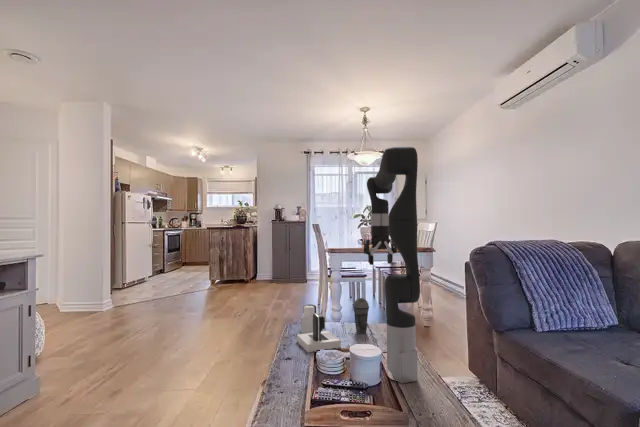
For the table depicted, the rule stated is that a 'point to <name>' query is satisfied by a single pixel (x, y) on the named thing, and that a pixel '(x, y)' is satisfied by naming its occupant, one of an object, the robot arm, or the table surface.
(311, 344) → the charging dock
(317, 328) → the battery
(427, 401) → the table surface
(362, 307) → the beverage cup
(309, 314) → the medicine bottle
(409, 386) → the table surface
